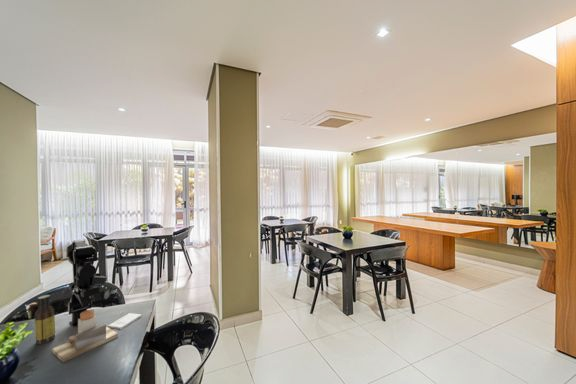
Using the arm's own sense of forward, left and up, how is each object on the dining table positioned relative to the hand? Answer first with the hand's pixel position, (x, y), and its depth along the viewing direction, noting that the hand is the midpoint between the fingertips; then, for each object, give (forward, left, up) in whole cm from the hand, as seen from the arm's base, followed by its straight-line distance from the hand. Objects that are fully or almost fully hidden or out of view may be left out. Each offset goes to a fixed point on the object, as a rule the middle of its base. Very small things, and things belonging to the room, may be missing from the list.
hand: (84, 306), depth 110 cm
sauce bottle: (-9, -11, -13) cm, 19 cm away
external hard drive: (+5, +15, -14) cm, 21 cm away
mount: (+10, -3, -13) cm, 17 cm away
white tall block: (+11, -3, -11) cm, 16 cm away
